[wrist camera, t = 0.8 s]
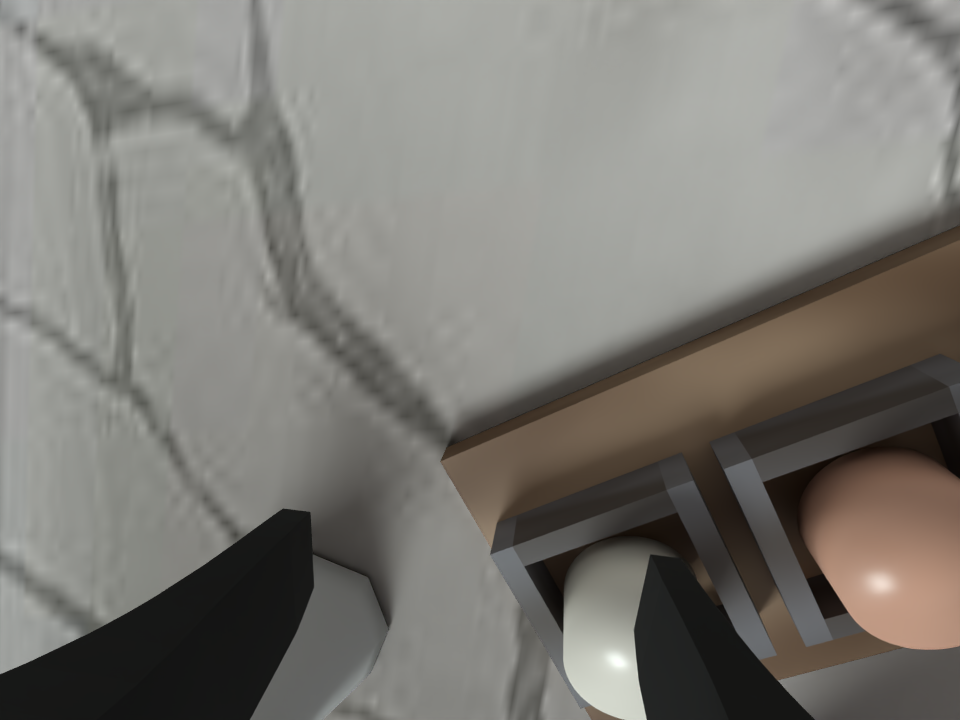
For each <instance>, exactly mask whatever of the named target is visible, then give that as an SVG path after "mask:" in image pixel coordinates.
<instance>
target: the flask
mask: <svg viewBox="0 0 960 720" xmlns="http://www.w3.org/2000/svg"><path fill="white" fill-rule="evenodd" d="M313 571H314V589H313V592H312V594H311V597H310V600H309V602H308V605H307V608H306V610H305V613H304V615H303V618H302V620H301V623H300V625H299V628H298V630H297V633H296V635H295V636H294V638H293V640H292V642H291V644H290V646H289V648H288V650H287V652H286V654H285V656H284V657H283V659H282V661H281V663H280V665H279V667H278V669H277V671H276V672H275V674H274V676H273V678H272V680H271V682H270V684H269V685H268V687H267V689H266V691H265V693H264V695H263V697H262V698H261V700H260V702H259V704H258V706H257V708H256V710H255V711H254V713H253V715H252V717H251V719H250V720H323V719H324V718H325V717H326V716H327V715H328V714H329V713H330V712H331V711H332V710H333V709H334V708H336V707H337V706H338V705H339V704H340V703H341V702H342V701H343V700H344V699H345V698H346V697H347V696H348V695H349V694H350V693H351V692H352V691H353V690H354V689H355V688H356V687H357V686H358V685H359V684H360V683H361V682H362V681H363V680H364V679H365V678H366V677H367V676H368V675H369V674H370V673H371V671H372V669H373V666H374V664H375V661H376V659H377V656H378V654H379V651H380V649H381V647H382V644H383V642H384V639H385V637H386V634H387V632H388V627H387V624H386V622H385V619H384V617H383V614H382V611H381V609H380V606H379V604H378V601H377V599H376V596H375V594H374V591H373V589H372V586H371V584H370V581H369V579H368V577H366V576H364V575H361V574H359V573H356V572H354V571H352V570H349V569H347V568H344V567H342V566H340V565H337V564H335V563H332V562H330V561H328V560H325V559H323V558H320V557H318V556H316V555H313Z"/></svg>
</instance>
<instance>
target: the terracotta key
mask: <svg viewBox="0 0 960 720" xmlns="http://www.w3.org/2000/svg"><path fill="white" fill-rule="evenodd" d="M797 524H798V530H799V533H800V536H801V538H802V540H803V542H804V544H805V546H806V547H807V549H808V550H809V552H810V553H811V555H812V556H813V558H814V560H815V561H816V563H817V564H818V566H819V567H820V569H821V570H822V572H823V574H824V575H825V577H826V578H827V580H828V581H829V583H830V584H831V586H832V587H833V589H834V591H835V592H836V594H837V595H838V597H839V598H840V600H841V601H842V603H843V605H844V606H845V608H846V609H847V611H848V612H849V614H850V615H851V616H852V618H853V619H854V620H855V621H856V622H857V623H858V624H859V625H860V626H861V627H862V628H863V629H864V630H866V631H867V632H868V633H870V634H871V635H873V636H875V637H877V638H879V639H881V640H883V641H886V642H888V643H890V644H894V645H897V646H901V647H906V648H912V649H923V650H933V649H946V648H953V647H958V646H960V479H959V478H958V477H956V476H955V475H954V474H953V473H951V472H950V471H949V470H947V469H946V468H945V467H943V466H942V465H941V464H940V463H938V462H937V461H936V460H934V459H933V458H931V457H929V456H927V455H925V454H923V453H920V452H918V451H915V450H911V449H907V448H901V447H888V446H883V447H872V448H867V449H862V450H858V451H855V452H852V453H849V454H847V455H844V456H842V457H840V458H838V459H836V460H835V461H833V462H831V463H830V464H828V465H827V466H825V467H824V468H823V469H822V470H821V471H820V472H818V473H817V474H816V475H815V476H814V478H813V479H812V480H811V481H810V482H809V484H808V485H807V487H806V488H805V490H804V492H803V494H802V496H801V499H800V502H799V505H798V511H797Z"/></svg>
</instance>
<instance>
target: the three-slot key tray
mask: <svg viewBox="0 0 960 720" xmlns="http://www.w3.org/2000/svg"><path fill="white" fill-rule="evenodd" d="M883 446H888V447H901V448H907V449H911V450H915V451H918V452H920V453H923V454H925V455H927V456H929V457H931V458H933V459H934V460H936V461H937V462H938V463H940V464H941V465H942V466H943V467H945V468H946V469H947V470H949V471H950V472H951V473H953V474H954V475H955V476H956V477H958V478H959V479H960V226H957V227H955V228H953V229H950V230H948V231H946V232H943V233H941V234H939V235H936V236H934V237H932V238H929V239H927V240H925V241H923V242H920V243H918V244H916V245H913V246H911V247H909V248H906V249H904V250H902V251H899V252H897V253H895V254H893V255H890V256H888V257H886V258H883V259H881V260H879V261H876V262H874V263H872V264H869V265H867V266H865V267H863V268H860V269H858V270H856V271H853V272H851V273H849V274H846V275H844V276H842V277H839V278H837V279H835V280H832V281H830V282H828V283H826V284H823V285H821V286H819V287H816V288H814V289H812V290H809V291H807V292H805V293H802V294H800V295H798V296H796V297H793V298H791V299H789V300H786V301H784V302H782V303H779V304H777V305H775V306H772V307H770V308H768V309H765V310H763V311H761V312H759V313H756V314H754V315H752V316H749V317H747V318H745V319H742V320H740V321H738V322H735V323H733V324H731V325H729V326H726V327H724V328H722V329H719V330H717V331H715V332H712V333H710V334H708V335H705V336H703V337H701V338H698V339H696V340H694V341H692V342H689V343H687V344H685V345H682V346H680V347H678V348H675V349H673V350H671V351H668V352H666V353H664V354H662V355H659V356H657V357H655V358H652V359H650V360H648V361H645V362H643V363H641V364H638V365H636V366H634V367H632V368H629V369H627V370H625V371H622V372H620V373H618V374H615V375H613V376H611V377H608V378H606V379H604V380H601V381H599V382H597V383H595V384H592V385H590V386H588V387H585V388H583V389H581V390H578V391H576V392H574V393H571V394H569V395H567V396H565V397H562V398H560V399H558V400H555V401H553V402H551V403H548V404H546V405H544V406H541V407H539V408H537V409H534V410H532V411H530V412H528V413H525V414H523V415H521V416H518V417H516V418H514V419H511V420H509V421H507V422H504V423H502V424H500V425H498V426H495V427H493V428H491V429H488V430H486V431H484V432H481V433H479V434H477V435H474V436H472V437H470V438H467V439H465V440H463V441H461V442H458V443H456V444H454V445H451V446H449V447H447V448H446V450H445V452H444V455H443V457H442V459H441V461H440V462H441V463H442V465H443V467H444V469H445V470H446V472H447V474H448V475H449V477H450V479H451V480H452V482H453V484H454V486H455V487H456V489H457V491H458V492H459V494H460V496H461V498H462V499H463V501H464V503H465V504H466V506H467V508H468V510H469V511H470V513H471V515H472V516H473V518H474V520H475V521H476V523H477V525H478V527H479V528H480V530H481V532H482V533H483V535H484V537H485V539H486V540H487V542H488V544H489V545H490V547H491V553H490V555H491V557H492V559H493V560H494V562H495V564H496V565H497V567H498V569H499V570H500V572H501V574H502V576H503V577H504V579H505V581H506V582H507V584H508V586H509V587H510V589H511V591H512V593H513V594H514V596H515V598H516V599H517V601H518V603H519V604H520V606H521V608H522V610H523V611H524V613H525V615H526V616H527V618H528V620H529V622H530V623H531V625H532V627H533V628H534V630H535V632H536V633H537V635H538V637H539V639H540V640H541V642H542V644H543V645H544V647H545V649H546V650H547V652H548V654H549V656H550V657H551V659H552V661H553V662H554V664H555V666H556V667H557V669H558V671H559V673H560V674H561V676H562V678H563V679H564V681H565V683H566V684H567V686H568V688H569V690H570V691H571V693H572V695H573V696H574V698H575V700H576V701H577V703H578V705H579V707H580V708H585V709H586V711H587V713H588V714H589V716H590V718H591V720H624V719H620V718H617V717H613V716H611V715H608V714H606V713H604V712H602V711H600V710H598V709H596V708H595V707H593V706H592V705H590V704H589V703H588V702H587V701H585V700H584V699H583V698H582V697H581V696H580V695H579V694H578V693H577V692H576V690H575V689H574V688H573V686H572V685H571V683H570V681H569V679H568V677H567V675H566V672H565V668H564V662H563V631H564V581H565V577H566V574H567V571H568V569H569V567H570V565H571V564H572V562H573V561H574V559H575V558H576V557H577V556H578V555H579V554H580V553H581V552H582V551H584V550H585V549H586V548H588V547H590V546H591V545H593V544H595V543H597V542H600V541H602V540H605V539H609V538H613V537H619V536H638V537H644V538H649V539H652V540H656V541H658V542H661V543H663V544H665V545H667V546H669V547H671V548H672V549H674V550H675V551H677V552H678V553H679V554H680V555H681V556H682V557H683V558H685V560H686V561H687V562H688V563H689V564H690V566H691V568H692V569H693V571H694V573H695V575H696V578H697V580H698V582H699V583H700V585H701V586H702V588H703V589H704V590H705V592H706V593H707V594H708V596H709V597H710V598H711V600H712V601H713V602H714V604H715V605H716V606H717V608H718V609H719V610H720V612H721V613H722V614H723V615H724V617H725V618H726V619H727V621H728V622H729V623H730V624H731V626H732V627H733V628H734V629H735V631H736V632H737V633H738V634H739V636H740V637H741V638H742V639H743V641H744V642H745V643H746V644H747V646H748V647H749V648H750V649H751V651H752V652H753V653H754V654H755V655H756V657H757V658H758V659H759V660H760V661H761V662H762V664H763V665H764V666H765V667H766V668H767V669H768V670H769V672H770V673H771V674H772V675H773V676H774V677H775V678H776V679H777V680H780V679H784V678H788V677H792V676H796V675H800V674H804V673H807V672H811V671H815V670H819V669H823V668H827V667H831V666H834V665H838V664H842V663H846V662H850V661H854V660H857V659H861V658H865V657H869V656H873V655H877V654H881V653H884V652H888V651H892V650H896V649H900V648H904V647H901V646H897V645H894V644H890V643H888V642H886V641H883V640H881V639H879V638H877V637H875V636H873V635H871V634H870V633H868V632H867V631H866V630H864V629H863V628H862V627H861V626H860V625H859V624H858V623H857V622H856V621H855V620H854V619H853V618H852V616H851V615H850V614H849V612H848V611H847V609H846V608H845V606H844V605H843V603H842V601H841V600H840V598H839V597H838V595H837V594H836V592H835V591H834V589H833V587H832V586H831V584H830V583H829V581H828V580H827V578H826V577H825V575H824V574H823V572H822V570H821V569H820V567H819V566H818V564H817V563H816V561H815V560H814V558H813V556H812V555H811V553H810V552H809V550H808V549H807V547H806V546H805V544H804V542H803V540H802V538H801V536H800V533H799V530H798V524H797V511H798V505H799V502H800V499H801V496H802V494H803V492H804V490H805V488H806V487H807V485H808V484H809V482H810V481H811V480H812V479H813V478H814V476H815V475H816V474H817V473H818V472H820V471H821V470H822V469H823V468H824V467H825V466H827V465H828V464H830V463H831V462H833V461H835V460H836V459H838V458H840V457H842V456H844V455H847V454H849V453H852V452H855V451H858V450H862V449H867V448H872V447H883Z"/></svg>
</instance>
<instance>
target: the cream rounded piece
mask: <svg viewBox="0 0 960 720" xmlns="http://www.w3.org/2000/svg"><path fill="white" fill-rule="evenodd" d="M650 554H652V555H660V556H668V557H676V558H681V559H682V561H683V562H684V563H685V565H686V566H687V567H688V569H689V570H690V571H691V573H692V574H693V575H694V577H695V578H696V575H695V573H694V571H693V569H692V568H691V566H690V564H689V563H688V562H687V561H686V560H685V558H683V557H682V556H681V555H680V554H679V553H678V552H677V551H675V550H674V549H672V548H671V547H669V546H667V545H665V544H663V543H661V542H658V541H656V540H652V539H649V538H644V537H638V536H619V537H613V538H609V539H605V540H602V541H600V542H597V543H595V544H593V545H591V546H590V547H588V548H586V549H585V550H584V551H582V552H581V553H580V554H579V555H578V556H577V557H576V558H575V559H574V561H573V562H572V564H571V565H570V567H569V569H568V571H567V574H566V577H565V581H564V631H563V662H564V668H565V672H566V675H567V677H568V679H569V681H570V683H571V685H572V686H573V688H574V689H575V690H576V692H577V693H578V694H579V695H580V696H581V697H582V698H583V699H584V700H585V701H587V702H588V703H589V704H590V705H592V706H593V707H595V708H596V709H598V710H600V711H602V712H604V713H606V714H608V715H611V716H613V717H617V718H620V719H624V720H647V719H646V714H645V709H644V704H643V700H642V695H641V690H640V685H639V680H638V670H637V661H636V650H635V639H634V626H635V622H636V617H637V612H638V608H639V603H640V599H641V594H642V589H643V585H644V580H645V576H646V571H647V566H648V562H649V557H650ZM696 579H697V578H696ZM697 581H698V580H697Z"/></svg>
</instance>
